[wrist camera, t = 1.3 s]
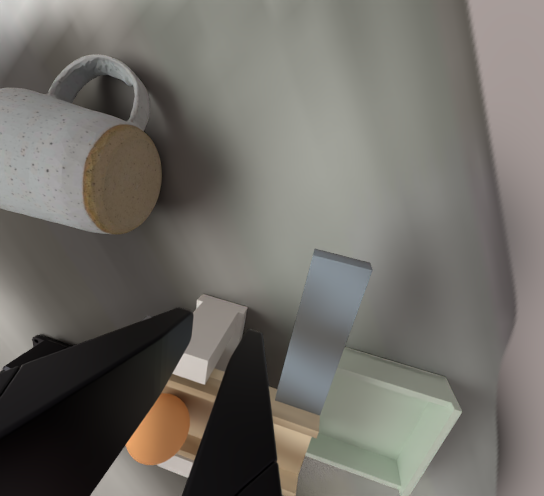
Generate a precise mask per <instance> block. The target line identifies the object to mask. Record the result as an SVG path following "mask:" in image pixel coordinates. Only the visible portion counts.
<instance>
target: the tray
mask: <svg viewBox="0 0 544 496" xmlns="http://www.w3.org/2000/svg"><path fill="white" fill-rule="evenodd" d="M461 413H462V410H461V408H460V406H459V404H458V402H457V399H456V397H455V395H454V393H453V391H452V389H451V387H450V385H449V383H448V381H447V379H446V377H444V376H441V375H437V374H434V373H431V372H427V371H424V370H421V369H417V368H414V367H411V366H407V365H404V364H401V363H397V362H394V361H391V360H387V359H384V358H381V357H377V356H374V355H371V354H367V353H364V352H361V351H357V350H354V349H351V348H347V347H345V348H344V350H343V353H342V356H341V359H340V362H339V364H338V367H337V370H336V373H335V375H334V378H333V381H332V384H331V386H330V389H329V392H328V395H327V397H326V400H325V403H324V406H323V409H322V411H321V414H320V422H319V433H318V436H317V438H314V437H312V438H311V441H310V443H309V446H308V449H307V452H306V454H305V456H307V457H310V458H312V459H315V460H318V461H321V462H323V463H326V464H329V465H332V466H335V467H337V468H340V469H343V470H346V471H348V472H351V473H354V474H357V475H359V476H362V477H365V478H368V479H370V480H373V481H376V482H379V483H381V484H384V485H387V486H390V487H392V488H395V489H398V490H399V492H400V496H409V495H410V494H411V492H412V490H413V489H414V487H415V486H416V484H417V483H418V481H419V479H420V478H421V476H422V475H423V473H424V472H425V470H426V468H427V467H428V465H429V464H430V462H431V460H432V459H433V457H434V456H435V454H436V453H437V451H438V449H439V448H440V446H441V445H442V443H443V442H444V440H445V438H446V437H447V435H448V434H449V432H450V431H451V429H452V427H453V426H454V424H455V423H456V421H457V420H458V418H459V416H460V415H461Z"/></svg>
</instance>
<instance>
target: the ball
mask: <svg viewBox="0 0 544 496" xmlns="http://www.w3.org/2000/svg"><path fill="white" fill-rule="evenodd" d="M189 427H190V416H189V412H188V409H187V407H186V405H185V403H184V402H183V401H182V400H181V399H180V398H178V397H177V396H175V395H172V394H167V393H161V394H160V396H159V398H158V399H157V401H156V402H155V404H154V405H153V407H152V408H151V409H150V411H149V412H148V414H147V415H146V417H145V418H144V419H143V421H142V422H141V424H140V425H139V426H138V428H137V429H136V431H135V432H134V434H133V435H132V436H131V438H130V439H129V441H128V442H127V444H126V447H127V450H128V452H129V454H130V455H131V456H132V457H133V458H134V459H135V460H136V461H137V462H139V463H142V464H145V465H156V464H160V463H163V462H165V461H167V460H169V459H170V458H172V457H173V456H174V455H175V454H176V453H177V452H178V451H179V450H180V448H181V447H182V446H183V444H184V442H185V440H186V438H187V435H188V432H189Z"/></svg>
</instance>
